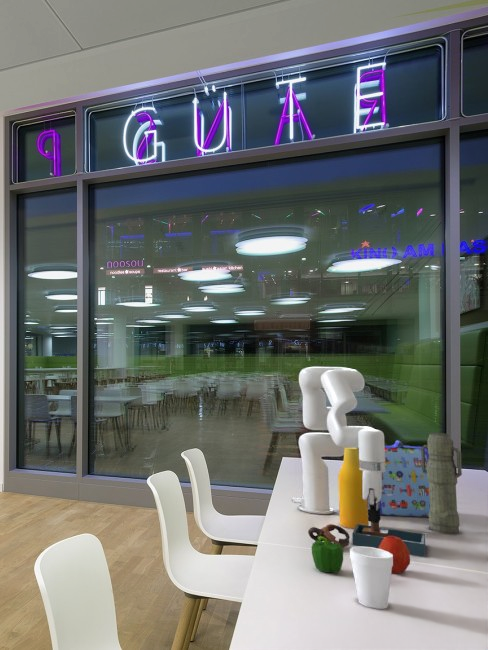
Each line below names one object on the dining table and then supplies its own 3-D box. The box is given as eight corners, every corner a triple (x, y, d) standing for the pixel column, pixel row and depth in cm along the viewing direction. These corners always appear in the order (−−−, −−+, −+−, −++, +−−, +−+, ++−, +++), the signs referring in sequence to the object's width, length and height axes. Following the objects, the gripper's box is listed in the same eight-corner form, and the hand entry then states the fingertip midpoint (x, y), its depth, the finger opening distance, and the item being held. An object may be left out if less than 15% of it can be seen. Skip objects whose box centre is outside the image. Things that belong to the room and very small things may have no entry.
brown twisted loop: (339, 544, 204) (348, 526, 201) (345, 564, 196) (355, 546, 193) (302, 532, 207) (310, 515, 203) (306, 552, 199) (316, 534, 195)
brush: (363, 541, 203) (359, 503, 204) (365, 537, 207) (361, 500, 208) (388, 544, 198) (384, 506, 199) (390, 540, 202) (386, 502, 203)
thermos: (463, 536, 211) (458, 436, 214) (422, 529, 220) (418, 433, 222) (466, 531, 218) (462, 434, 220) (427, 524, 226) (422, 431, 228)
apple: (417, 577, 173) (415, 539, 173) (385, 575, 174) (384, 538, 175) (402, 567, 181) (401, 531, 181) (372, 565, 182) (371, 529, 183)
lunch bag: (421, 509, 248) (418, 439, 250) (440, 518, 234) (437, 444, 236) (364, 507, 252) (361, 438, 253) (379, 515, 238) (376, 442, 240)
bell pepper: (338, 566, 181) (337, 533, 182) (348, 576, 173) (346, 541, 174) (307, 564, 183) (306, 531, 184) (316, 574, 175) (315, 539, 176)
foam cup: (353, 593, 161) (351, 544, 162) (394, 601, 156) (392, 550, 157) (350, 605, 153) (348, 553, 154) (394, 614, 148) (392, 560, 149)
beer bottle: (336, 522, 229) (333, 445, 231) (362, 523, 227) (359, 446, 229) (345, 529, 220) (342, 449, 222) (373, 530, 218) (369, 450, 220)
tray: (352, 545, 202) (352, 532, 202) (357, 535, 213) (356, 523, 213) (424, 556, 190) (424, 544, 190) (425, 546, 201) (425, 533, 201)
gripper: (362, 461, 213) (364, 514, 212) (356, 468, 200) (358, 524, 199) (387, 463, 208) (389, 517, 207) (383, 471, 196) (385, 528, 194)
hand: (374, 520), depth 203 cm, fingers closed on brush, 2 cm apart
